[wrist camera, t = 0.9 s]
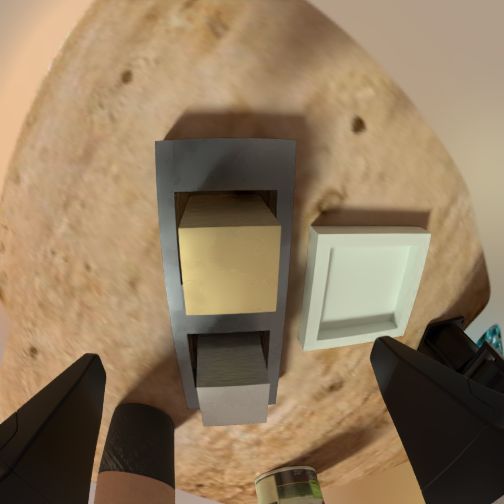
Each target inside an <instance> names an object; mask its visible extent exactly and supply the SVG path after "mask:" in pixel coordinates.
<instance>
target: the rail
mask: <svg viewBox="0 0 504 504" xmlns="http://www.w3.org/2000/svg"><path fill="white" fill-rule="evenodd" d="M155 160H156V184H157V201H158V215H159V227H160V239H161V249H162V258H163V267H164V276H165V284H166V291H167V299H168V306H169V312H170V319H171V325H172V331H173V337H174V343H175V349H176V354H177V360H178V365H179V370H180V375H181V380H182V385H183V389H184V394H185V398H186V403H187V407H188V409H200V404H199V399H198V393H197V369H196V368H195V361H194V354H193V347H192V339H191V334H201V333H229V332H249V331H264V341H263V356H264V360H265V364H266V368H267V373H268V377H269V381H270V389H269V400H268V405H270V404H276V396H277V387H278V379H279V370H280V361H281V351H282V342H283V332H284V321H285V311H286V299H287V288H288V276H289V263H290V249H291V235H292V219H293V202H294V183H295V161H296V140H290V139H268V138H202V139H179V140H163V141H155ZM218 190H270V204H269V209H270V211H271V212H272V214H273V215H274V216H275V218H276V219H277V221H278V222H279V223H280V225H281V239H280V257H279V273H278V289H277V303H276V311H274V312H257V313H238V314H214V315H186V308H185V299H184V290H183V280H182V269H181V257H180V245H179V231H178V228H179V225H180V204H179V192H186V191H218Z"/></svg>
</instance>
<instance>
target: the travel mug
mask: <svg viewBox="0 0 504 504" xmlns="http://www.w3.org/2000/svg"><path fill="white" fill-rule="evenodd" d="M94 504H175V470H174V424H173V421H172V420H171V418H170V417H169V416H168V415H166V414H165V413H163V412H162V411H160V410H158V409H155V408H153V407H150V406H146V405H141V404H125V405H121V406H119V407H117V408H116V409H115V411H114V413H113V416H112V419H111V423H110V427H109V430H108V434H107V438H106V442H105V446H104V450H103V455H102V459H101V463H100V468H99V472H98V478H97V485H96V491H95V499H94Z"/></svg>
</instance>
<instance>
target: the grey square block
mask: <svg viewBox="0 0 504 504" xmlns="http://www.w3.org/2000/svg"><path fill="white" fill-rule="evenodd" d="M269 389H270V381H269V377H268V373H267V368H266V364H265V360H264V356H263V351H262V347H261V343H260V338H259V334H258V331H249V332H229V333H201V334H198V353H197V393H198V399H199V404H200V410H201V415H202V421H203V426H225V425H242V424H255V423H265V422H266V421H267V410H268V400H269Z"/></svg>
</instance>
